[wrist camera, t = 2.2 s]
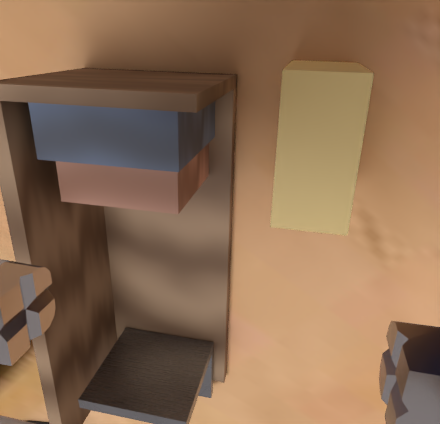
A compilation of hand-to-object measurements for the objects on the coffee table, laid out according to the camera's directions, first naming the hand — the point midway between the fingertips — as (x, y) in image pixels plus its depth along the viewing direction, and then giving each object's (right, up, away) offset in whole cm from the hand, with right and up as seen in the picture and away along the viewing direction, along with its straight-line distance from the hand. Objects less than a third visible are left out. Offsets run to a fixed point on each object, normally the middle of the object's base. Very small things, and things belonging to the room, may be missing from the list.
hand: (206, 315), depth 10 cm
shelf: (-4, 0, +23) cm, 24 cm away
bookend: (-4, -11, +27) cm, 29 cm away
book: (+7, +8, +17) cm, 20 cm away
